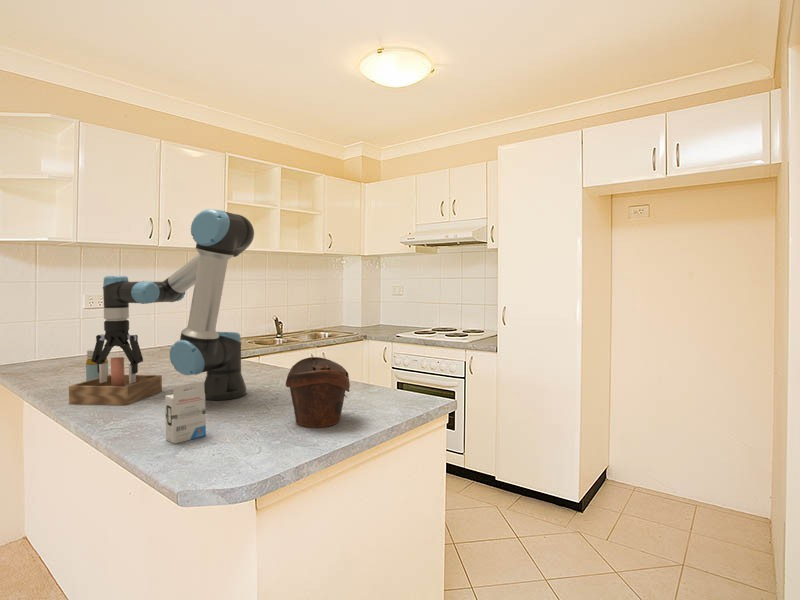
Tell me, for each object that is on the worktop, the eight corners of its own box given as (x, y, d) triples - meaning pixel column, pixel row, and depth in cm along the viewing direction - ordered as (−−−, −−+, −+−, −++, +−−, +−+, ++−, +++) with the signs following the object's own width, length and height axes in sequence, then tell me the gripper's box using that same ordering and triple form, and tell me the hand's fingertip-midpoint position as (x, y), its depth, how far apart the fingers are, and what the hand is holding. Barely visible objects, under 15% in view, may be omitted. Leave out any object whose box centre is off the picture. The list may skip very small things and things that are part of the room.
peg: (127, 396, 164) (126, 357, 164) (119, 398, 160) (118, 358, 160) (116, 395, 164) (115, 356, 164) (108, 398, 160) (107, 358, 160)
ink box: (197, 432, 125) (196, 378, 124) (206, 435, 122) (205, 380, 121) (165, 440, 118) (164, 383, 118) (173, 444, 115) (172, 386, 114)
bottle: (97, 391, 171) (96, 351, 171) (81, 390, 173) (81, 350, 172) (112, 387, 178) (112, 348, 178) (97, 386, 180) (96, 348, 179)
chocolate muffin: (324, 435, 121) (324, 368, 121) (271, 424, 132) (271, 361, 132) (364, 420, 136) (364, 360, 136) (314, 410, 147) (314, 354, 147)
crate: (162, 391, 172) (161, 375, 171) (126, 405, 152) (125, 387, 151) (111, 390, 173) (110, 374, 173) (69, 403, 153) (68, 386, 153)
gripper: (154, 319, 164) (155, 380, 165) (94, 318, 166) (95, 379, 167) (140, 320, 157) (141, 385, 158) (77, 320, 158) (79, 384, 159)
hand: (117, 382), depth 162 cm, fingers open, 10 cm apart
